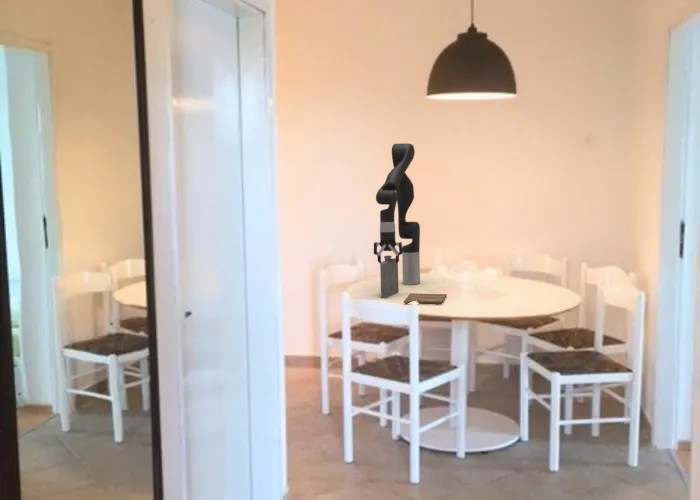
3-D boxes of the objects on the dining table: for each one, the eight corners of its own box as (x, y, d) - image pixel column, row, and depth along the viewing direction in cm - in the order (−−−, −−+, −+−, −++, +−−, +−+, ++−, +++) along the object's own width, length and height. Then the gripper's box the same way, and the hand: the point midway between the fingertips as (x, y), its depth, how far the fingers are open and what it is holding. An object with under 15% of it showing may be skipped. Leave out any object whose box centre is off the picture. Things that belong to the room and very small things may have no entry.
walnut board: (410, 296, 395) (410, 293, 394) (446, 297, 390) (446, 294, 390) (403, 304, 377) (403, 301, 377) (441, 305, 373) (441, 301, 373)
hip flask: (385, 298, 391) (384, 258, 388) (378, 298, 393) (377, 258, 390) (399, 292, 405) (398, 253, 402) (392, 291, 407) (391, 253, 404)
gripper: (403, 229, 396) (403, 262, 399) (375, 229, 400) (375, 261, 402) (400, 231, 389) (401, 264, 391) (371, 231, 392) (372, 264, 395)
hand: (388, 263), depth 397 cm, fingers open, 8 cm apart
